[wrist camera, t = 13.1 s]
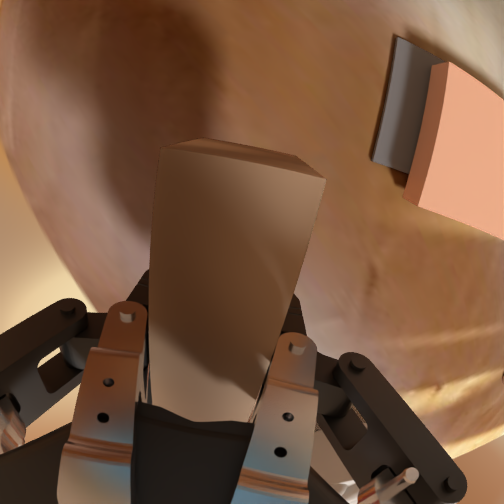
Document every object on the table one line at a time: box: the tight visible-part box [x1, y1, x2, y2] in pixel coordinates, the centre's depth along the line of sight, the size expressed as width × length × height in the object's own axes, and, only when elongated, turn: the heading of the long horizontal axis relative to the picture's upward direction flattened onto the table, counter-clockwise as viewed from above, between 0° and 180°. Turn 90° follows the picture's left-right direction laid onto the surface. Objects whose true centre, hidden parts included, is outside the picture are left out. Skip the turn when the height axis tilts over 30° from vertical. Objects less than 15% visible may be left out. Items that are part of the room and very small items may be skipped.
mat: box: [371, 37, 445, 174], centre depth 14 cm, size 14×8×1 cm, turn 79°
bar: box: [149, 138, 327, 422], centre depth 10 cm, size 4×12×5 cm, turn 169°
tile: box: [403, 62, 504, 240], centre depth 14 cm, size 9×2×9 cm
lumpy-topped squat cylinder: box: [310, 423, 367, 504], centre depth 25 cm, size 10×13×9 cm
